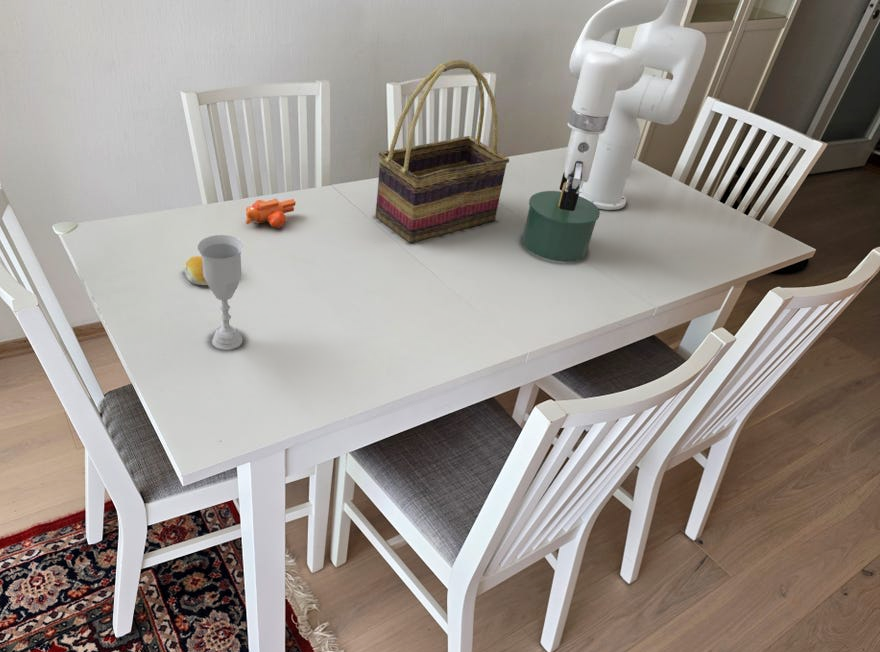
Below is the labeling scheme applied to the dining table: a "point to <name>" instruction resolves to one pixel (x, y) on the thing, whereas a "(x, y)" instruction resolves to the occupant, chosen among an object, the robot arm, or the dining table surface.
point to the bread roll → (195, 271)
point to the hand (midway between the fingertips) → (566, 199)
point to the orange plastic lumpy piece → (270, 212)
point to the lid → (549, 209)
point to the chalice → (223, 281)
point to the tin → (556, 238)
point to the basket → (440, 175)
